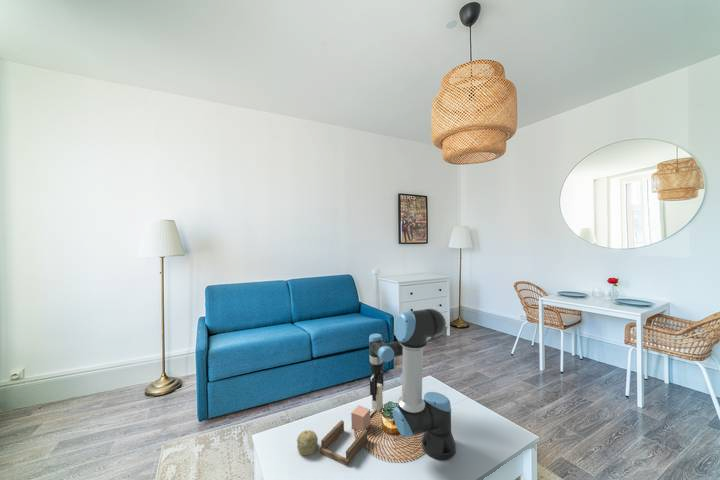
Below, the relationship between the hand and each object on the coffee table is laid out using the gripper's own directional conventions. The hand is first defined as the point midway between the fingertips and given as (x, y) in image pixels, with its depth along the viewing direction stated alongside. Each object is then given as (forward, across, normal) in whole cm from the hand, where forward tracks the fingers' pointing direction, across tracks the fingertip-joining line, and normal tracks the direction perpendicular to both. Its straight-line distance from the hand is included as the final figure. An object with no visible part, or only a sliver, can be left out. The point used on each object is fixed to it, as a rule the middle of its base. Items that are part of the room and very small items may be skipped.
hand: (377, 403), depth 157 cm
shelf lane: (+3, +33, 0) cm, 33 cm away
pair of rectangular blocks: (+3, +10, 0) cm, 10 cm away
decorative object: (+3, +43, -14) cm, 45 cm away
